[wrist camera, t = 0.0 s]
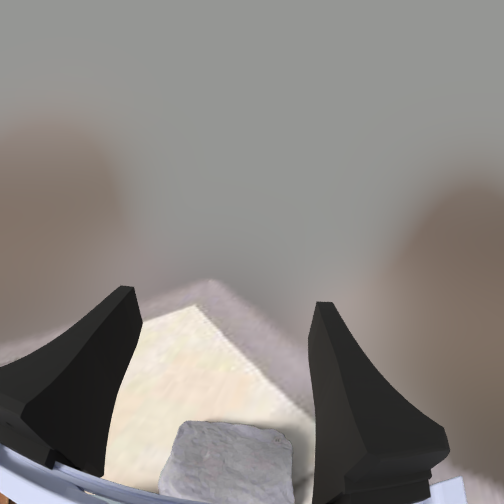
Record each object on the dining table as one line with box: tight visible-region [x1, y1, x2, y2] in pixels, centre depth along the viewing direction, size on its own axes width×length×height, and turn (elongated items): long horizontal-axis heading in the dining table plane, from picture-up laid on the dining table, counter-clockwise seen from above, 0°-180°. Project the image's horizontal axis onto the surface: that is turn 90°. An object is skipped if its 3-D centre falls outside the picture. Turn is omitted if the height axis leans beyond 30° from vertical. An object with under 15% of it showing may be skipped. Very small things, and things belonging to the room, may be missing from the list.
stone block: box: [158, 421, 295, 504], centre depth 23 cm, size 12×5×10 cm
